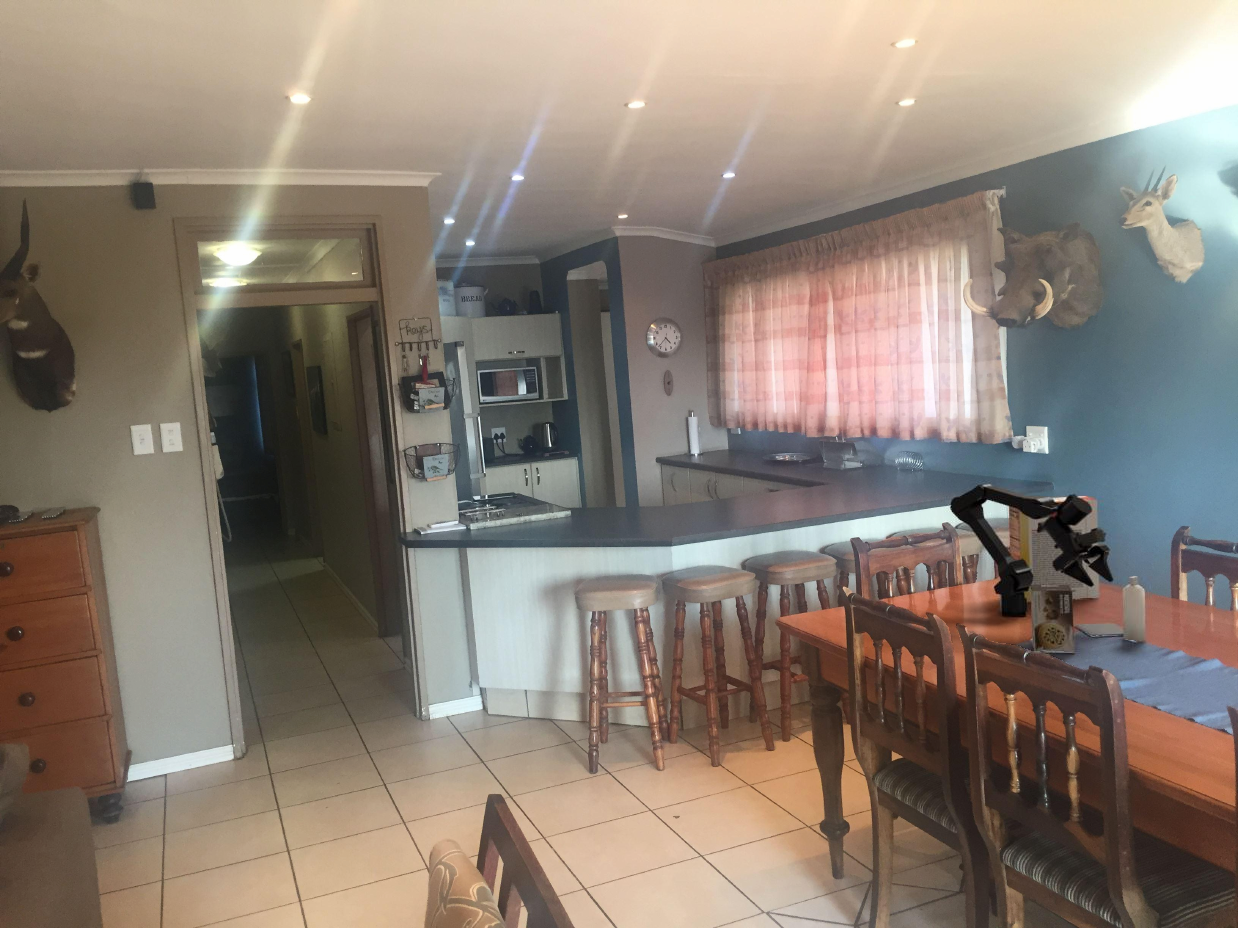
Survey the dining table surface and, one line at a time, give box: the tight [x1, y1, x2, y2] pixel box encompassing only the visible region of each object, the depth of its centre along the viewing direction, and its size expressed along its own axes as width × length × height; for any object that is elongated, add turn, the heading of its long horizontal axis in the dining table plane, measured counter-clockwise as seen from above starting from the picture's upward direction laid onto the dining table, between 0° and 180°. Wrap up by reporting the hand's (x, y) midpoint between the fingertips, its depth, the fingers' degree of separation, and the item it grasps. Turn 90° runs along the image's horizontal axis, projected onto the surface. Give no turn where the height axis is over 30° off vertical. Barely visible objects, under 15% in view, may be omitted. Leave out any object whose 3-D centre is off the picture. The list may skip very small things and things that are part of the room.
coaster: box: [1074, 622, 1124, 637], centre depth 237 cm, size 10×10×1 cm
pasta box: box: [1008, 495, 1100, 603], centre depth 273 cm, size 23×8×30 cm, turn 88°
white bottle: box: [1122, 575, 1146, 643], centre depth 228 cm, size 5×5×16 cm
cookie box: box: [1030, 585, 1076, 654], centre depth 224 cm, size 9×6×16 cm
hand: (1102, 583), depth 235 cm, fingers open, 9 cm apart
